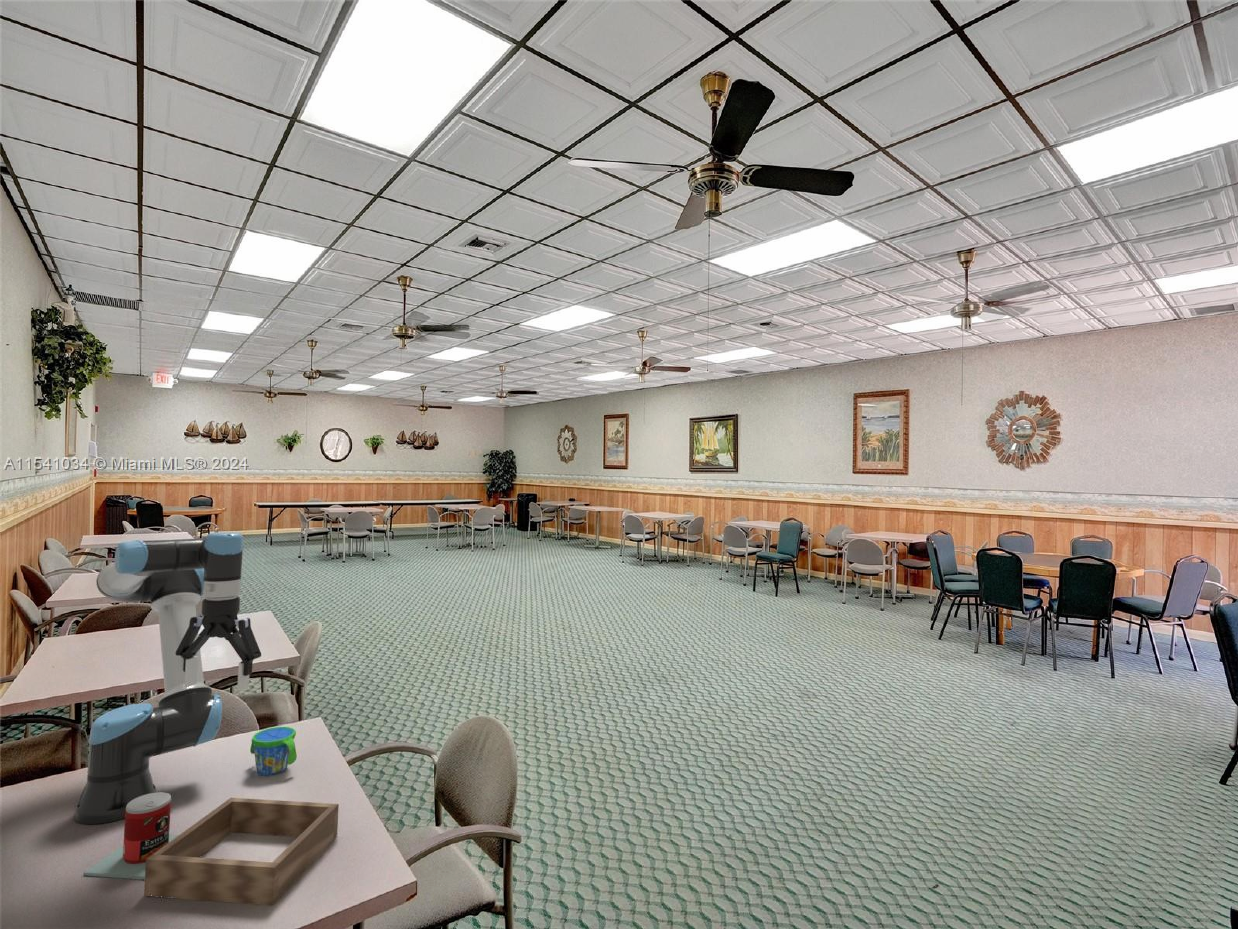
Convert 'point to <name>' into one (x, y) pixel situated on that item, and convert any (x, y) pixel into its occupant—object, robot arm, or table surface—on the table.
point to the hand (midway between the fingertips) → (216, 687)
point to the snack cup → (273, 750)
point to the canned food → (146, 826)
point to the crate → (240, 880)
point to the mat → (119, 866)
